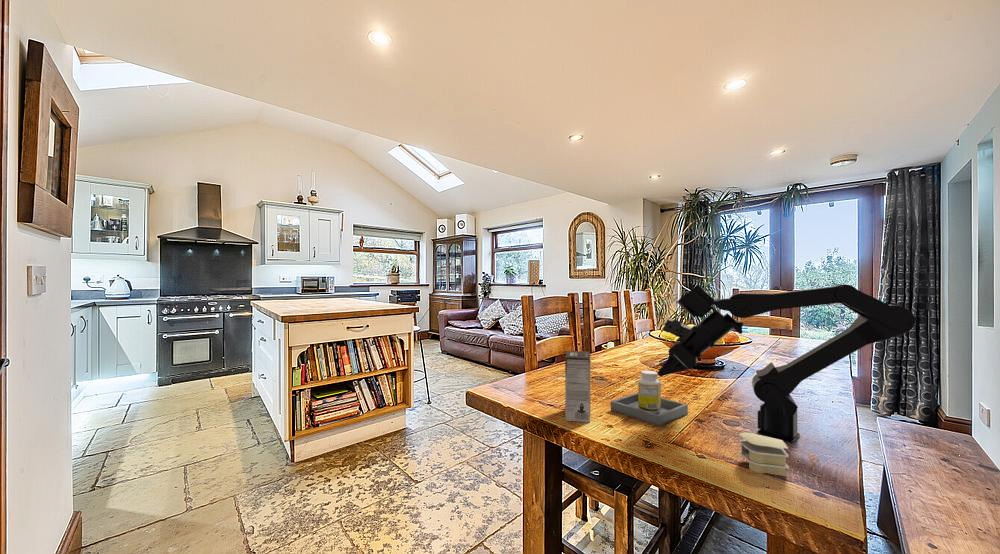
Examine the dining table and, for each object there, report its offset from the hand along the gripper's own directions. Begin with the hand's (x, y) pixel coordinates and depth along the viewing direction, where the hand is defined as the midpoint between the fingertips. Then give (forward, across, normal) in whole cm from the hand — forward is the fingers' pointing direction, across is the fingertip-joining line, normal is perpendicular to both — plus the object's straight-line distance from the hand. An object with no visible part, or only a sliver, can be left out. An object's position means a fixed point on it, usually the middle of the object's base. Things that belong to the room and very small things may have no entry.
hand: (661, 370), depth 97 cm
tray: (+10, 0, +6) cm, 12 cm away
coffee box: (+21, +12, -5) cm, 25 cm away
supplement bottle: (+10, 0, +6) cm, 12 cm away
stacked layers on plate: (-6, +20, +23) cm, 31 cm away
